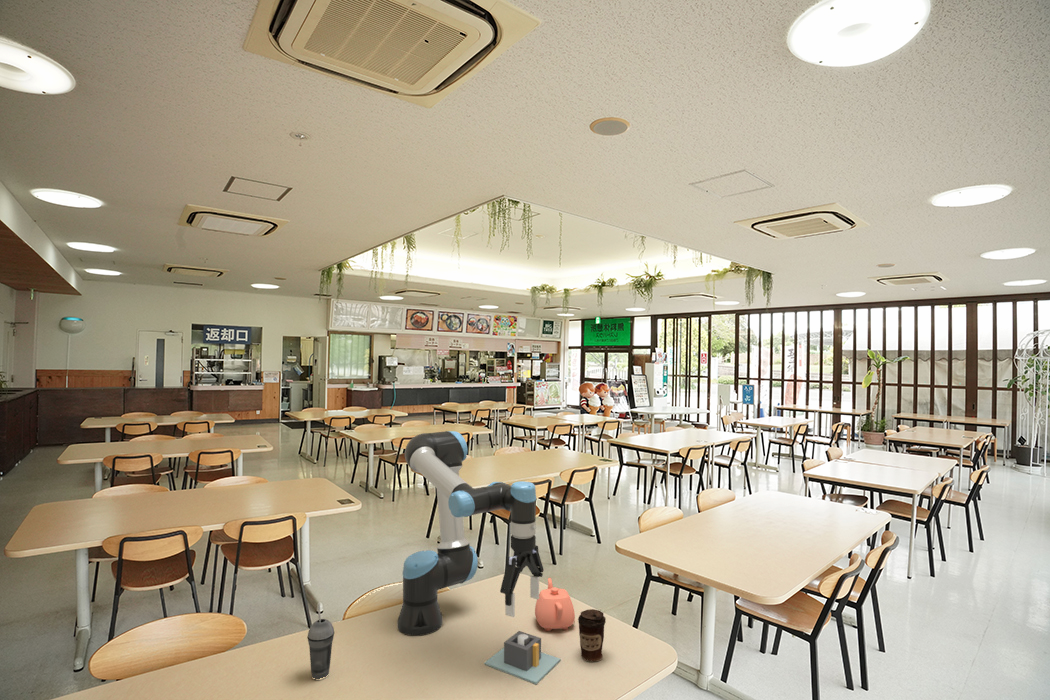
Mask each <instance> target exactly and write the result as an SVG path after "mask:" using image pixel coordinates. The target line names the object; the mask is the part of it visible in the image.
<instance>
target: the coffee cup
mask: <svg viewBox="0 0 1050 700" xmlns="http://www.w3.org/2000/svg"><path fill="white" fill-rule="evenodd" d="M577 620H578V621H577V622H578V631H579V632H578V633H579V645H580V646H579V647H580V654H581V658H582V659H583V660H585V661H587V662H591V663H592V662H593V663H594V662H599V661H601V660H603V652H602V651H603V645H604V641H605V640H604V638H605V624H606V617H605V616H604V612H603V611H601V610H599V609H594V608H592V609H591V608H590V609H585V610H583V611H581V612H580V614H579V615H578V619H577Z"/></svg>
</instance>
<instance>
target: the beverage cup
mask: <svg viewBox="0 0 1050 700" xmlns="http://www.w3.org/2000/svg"><path fill="white" fill-rule="evenodd" d="M320 604H321V603H317V611H318V612H317V613H318V619H317V620H316V621H314V622H313V623H312V624H311V625H310V627H309V629H308V632H307V637H306V639H307V642H308V648H309V657H310V658H309V660H310V661H309V662H310V672H311V678H312V677H313V678H315V679H320V678H323V677H326V676H327V675H328V674H329V675H330V668H331V659H332V657H331V656H332V648H333V641H334V636H335V630H334V626H333V623H332V622H331V621H330V620H328V619H327V618H326V619H325V618H322V617H321V605H320ZM329 675H328V676H329Z"/></svg>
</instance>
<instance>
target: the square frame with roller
mask: <svg viewBox="0 0 1050 700" xmlns="http://www.w3.org/2000/svg"><path fill="white" fill-rule="evenodd" d="M520 634H526V635H528V636H529V637H530V643H529V644H527V645H526V646H523V645H520V644H518V635H520ZM503 648H504V663H506V664H509V665H511V666H514V667H517V668H519V669H522V670H524V671H528V670H529V669H530V668H531V667H532V666H534V667H537V666H538V665H539V660H540V659H541V652H542V638H541V637H539V636H537V635H533V634H530V633H527V632H525V631H524V632H523V631H522V630H521V631H520V630H518V631H516V632H515V633H514V634H513V635H511V636H510V637H509V638H508V639H506V640H505V641H504V642H503Z"/></svg>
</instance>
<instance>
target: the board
mask: <svg viewBox="0 0 1050 700" xmlns="http://www.w3.org/2000/svg"><path fill="white" fill-rule="evenodd" d="M529 643H530V637H529V636H528V635H526V634H520V635H518V644H520V645H523V646H526V645H527V644H529ZM561 661H562V660H561V658H559V657H556V656H553V655H552V654H551V655H550V654H547V653H544V652H542V651H541V659H540V660H539V665H538V666H537V667H534V666H532V667H531V668H530V669H529V670H528V671H524V670H522V669H519V668H517V667H514V666H511V665H509V664H506V663H504V647H502V648H501V649H500V650H499V651H497V652H496V653H495V654H494V655H492V656H491V657H490V658H489V659H487V660H486V661H484V665H485V666H487V667H490V668H492V669H495V670H497V671H501V672H503V673H506V674H508V675H511V676H513V677H515V678H517V679H520V680H523V681H526V682H528V683H531V684H534V685H538V684H539V683H540V682H541V681H542V680H543V679H544V678H545V676H547V675H548V674H549V673H550V672H551V671H552V670H553V669H554V668H555V667H556V666H557V665H558V664H559V663H560V662H561Z"/></svg>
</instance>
